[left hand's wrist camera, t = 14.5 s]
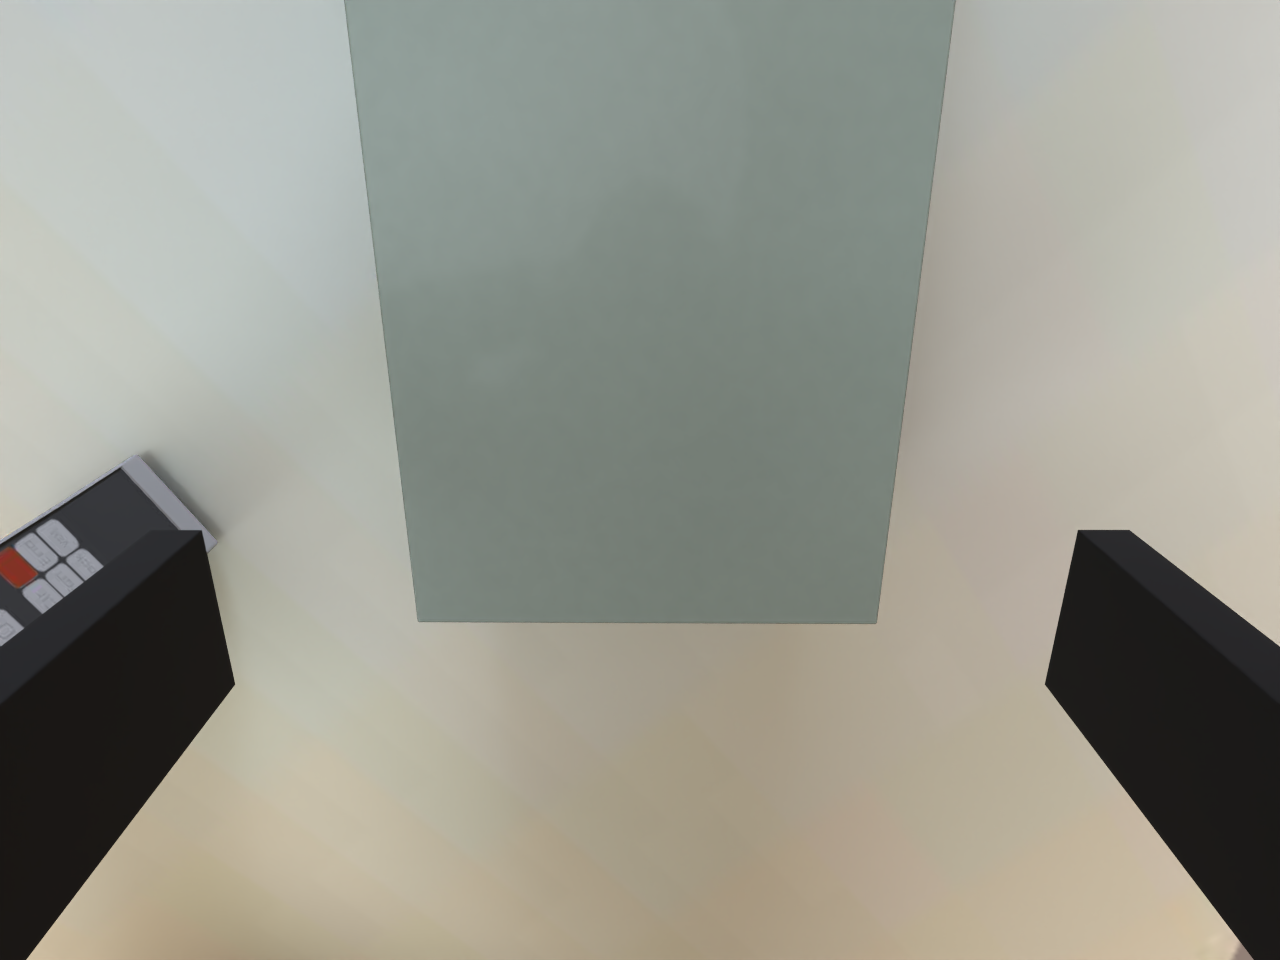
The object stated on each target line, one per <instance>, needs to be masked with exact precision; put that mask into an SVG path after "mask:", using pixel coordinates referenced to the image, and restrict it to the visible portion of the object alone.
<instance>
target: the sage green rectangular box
mask: <svg viewBox="0 0 1280 960" xmlns="http://www.w3.org/2000/svg"><path fill="white" fill-rule="evenodd" d="M955 2H956V0H344V3H345V11H346V19H347V28H348V36H349V45H350V53H351V62H352V70H353V78H354V87H355V95H356V104H357V112H358V121H359V129H360V138H361V146H362V154H363V163H364V171H365V180H366V188H367V197H368V205H369V214H370V222H371V230H372V239H373V247H374V256H375V264H376V273H377V281H378V289H379V298H380V306H381V315H382V323H383V332H384V340H385V349H386V357H387V365H388V374H389V382H390V391H391V399H392V408H393V416H394V425H395V433H396V441H397V450H398V458H399V467H400V475H401V484H402V492H403V500H404V509H405V517H406V526H407V534H408V543H409V551H410V560H411V568H412V576H413V585H414V593H415V602H416V610H417V619H418V622H540V623H777V624H876V623H877V617H878V609H879V601H880V593H881V585H882V577H883V569H884V562H885V554H886V546H887V538H888V530H889V522H890V514H891V506H892V498H893V491H894V483H895V475H896V467H897V459H898V451H899V443H900V435H901V427H902V420H903V412H904V404H905V396H906V388H907V380H908V372H909V364H910V356H911V349H912V341H913V333H914V325H915V317H916V309H917V301H918V293H919V285H920V278H921V270H922V262H923V254H924V246H925V238H926V230H927V222H928V214H929V207H930V199H931V191H932V183H933V175H934V167H935V159H936V151H937V144H938V136H939V128H940V120H941V112H942V104H943V96H944V88H945V80H946V73H947V65H948V57H949V49H950V41H951V33H952V25H953V17H954V9H955Z"/></svg>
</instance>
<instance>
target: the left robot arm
mask: <svg viewBox="0 0 1280 960" xmlns="http://www.w3.org/2000/svg"><path fill="white" fill-rule="evenodd" d="M234 685H235V682H234V677H233V672H232V668H231V663H230V659H229V654H228V649H227V645H226V640H225V635H224V631H223V626H222V621H221V617H220V612H219V607H218V603H217V598H216V593H215V589H214V584H213V579H212V575H211V570H210V565H209V561H208V556H207V551H206V547H205V542H204V537H203V533H202V530H150V531H149V532H148V533H146V534H145V535H144V536H143V537H141V538H140V539H139V540H137V541H136V542H135V543H133V544H132V545H131V546H130V547H128V548H127V549H126V550H124V551H123V552H122V553H121V554H119V555H118V556H117V557H115V558H114V559H113V560H112V561H110V562H109V563H108V564H106V565H105V566H104V567H103V568H101V569H100V570H99V571H97V572H96V573H95V574H93V575H92V576H91V577H90V578H88V579H87V580H86V581H84V582H83V583H82V584H81V585H79V586H78V587H77V588H75V589H74V590H73V591H72V592H70V593H69V594H68V595H66V596H65V597H64V598H63V599H61V600H60V601H59V602H57V603H56V604H55V605H53V606H52V607H51V608H50V609H48V610H47V611H46V612H44V613H43V614H42V615H41V616H39V617H38V618H37V619H35V620H34V621H33V622H32V623H30V624H29V625H28V626H26V627H25V628H24V629H23V630H21V631H20V632H19V633H17V634H16V635H15V636H13V637H12V638H11V639H10V640H8V641H7V642H6V643H4V644H3V645H2V646H1V647H0V960H26V959H27V958H28V957H29V955H30V954H31V953H32V951H33V950H34V949H35V947H36V946H37V945H38V943H39V942H40V941H41V939H42V938H43V937H44V935H45V934H46V933H47V932H48V930H49V929H50V928H51V926H52V925H53V924H54V922H55V921H56V920H57V918H58V917H59V916H60V914H61V913H62V912H63V910H64V909H65V908H66V906H67V905H68V904H69V903H70V901H71V900H72V899H73V897H74V896H75V895H76V893H77V892H78V891H79V889H80V888H81V887H82V885H83V884H84V883H85V881H86V880H87V879H88V878H89V876H90V875H91V874H92V872H93V871H94V870H95V868H96V867H97V866H98V864H99V863H100V862H101V860H102V859H103V858H104V856H105V855H106V854H107V852H108V851H109V850H110V849H111V847H112V846H113V845H114V843H115V842H116V841H117V839H118V838H119V837H120V835H121V834H122V833H123V831H124V830H125V829H126V827H127V826H128V825H129V823H130V822H131V821H132V820H133V818H134V817H135V816H136V814H137V813H138V812H139V810H140V809H141V808H142V806H143V805H144V804H145V802H146V801H147V800H148V798H149V797H150V796H151V795H152V793H153V792H154V791H155V789H156V788H157V787H158V785H159V784H160V783H161V781H162V780H163V779H164V777H165V776H166V775H167V773H168V772H169V771H170V769H171V768H172V767H173V766H174V764H175V763H176V762H177V760H178V759H179V758H180V756H181V755H182V754H183V752H184V751H185V750H186V748H187V747H188V746H189V744H190V743H191V742H192V740H193V739H194V738H195V737H196V735H197V734H198V733H199V731H200V730H201V729H202V727H203V726H204V725H205V723H206V722H207V721H208V719H209V718H210V717H211V715H212V714H213V713H214V712H215V710H216V709H217V708H218V706H219V705H220V704H221V702H222V701H223V700H224V698H225V697H226V696H227V694H228V693H229V692H230V690H231V689H232V688H233V686H234ZM1045 685H1046V686H1047V688H1048V689H1049V690H1050V692H1051V693H1052V694H1053V696H1054V697H1055V698H1056V700H1057V701H1058V702H1059V704H1060V705H1061V706H1062V708H1063V709H1064V710H1065V712H1066V713H1067V714H1068V715H1069V717H1070V718H1071V719H1072V721H1073V722H1074V723H1075V725H1076V726H1077V727H1078V729H1079V730H1080V731H1081V733H1082V734H1083V735H1084V737H1085V738H1086V739H1087V740H1088V742H1089V743H1090V744H1091V746H1092V747H1093V748H1094V750H1095V751H1096V752H1097V754H1098V755H1099V756H1100V758H1101V759H1102V760H1103V762H1104V763H1105V764H1106V766H1107V767H1108V768H1109V769H1110V771H1111V772H1112V773H1113V775H1114V776H1115V777H1116V779H1117V780H1118V781H1119V783H1120V784H1121V785H1122V787H1123V788H1124V789H1125V791H1126V792H1127V793H1128V795H1129V796H1130V797H1131V798H1132V800H1133V801H1134V802H1135V804H1136V805H1137V806H1138V808H1139V809H1140V810H1141V812H1142V813H1143V814H1144V816H1145V817H1146V818H1147V820H1148V821H1149V822H1150V823H1151V825H1152V826H1153V827H1154V829H1155V830H1156V831H1157V833H1158V834H1159V835H1160V837H1161V838H1162V839H1163V841H1164V842H1165V843H1166V845H1167V846H1168V847H1169V849H1170V850H1171V851H1172V852H1173V854H1174V855H1175V856H1176V858H1177V859H1178V860H1179V862H1180V863H1181V864H1182V866H1183V867H1184V868H1185V870H1186V871H1187V872H1188V874H1189V875H1190V876H1191V878H1192V879H1193V880H1194V881H1195V883H1196V884H1197V885H1198V887H1199V888H1200V889H1201V891H1202V892H1203V893H1204V895H1205V896H1206V897H1207V899H1208V900H1209V901H1210V903H1211V904H1212V905H1213V906H1214V908H1215V909H1216V910H1217V912H1218V913H1219V914H1220V916H1221V917H1222V918H1223V920H1224V921H1225V922H1226V924H1227V925H1228V926H1229V928H1230V929H1231V930H1232V932H1233V933H1234V934H1235V935H1236V937H1237V938H1238V939H1239V941H1240V942H1241V943H1242V945H1243V946H1244V947H1245V949H1246V950H1247V951H1248V953H1249V954H1250V955H1251V957H1252V958H1253V959H1254V960H1280V647H1279V646H1278V645H1277V644H1276V643H1274V642H1273V641H1272V640H1270V639H1269V638H1268V637H1267V636H1265V635H1264V634H1263V633H1261V632H1260V631H1259V630H1257V629H1256V628H1255V627H1254V626H1252V625H1251V624H1250V623H1248V622H1247V621H1246V620H1245V619H1243V618H1242V617H1241V616H1239V615H1238V614H1237V613H1236V612H1234V611H1233V610H1232V609H1230V608H1229V607H1228V606H1227V605H1225V604H1224V603H1223V602H1221V601H1220V600H1219V599H1217V598H1216V597H1215V596H1214V595H1212V594H1211V593H1210V592H1208V591H1207V590H1206V589H1205V588H1203V587H1202V586H1201V585H1199V584H1198V583H1197V582H1196V581H1194V580H1193V579H1192V578H1190V577H1189V576H1188V575H1187V574H1185V573H1184V572H1183V571H1181V570H1180V569H1179V568H1177V567H1176V566H1175V565H1174V564H1172V563H1171V562H1170V561H1168V560H1167V559H1166V558H1165V557H1163V556H1162V555H1161V554H1159V553H1158V552H1157V551H1156V550H1154V549H1153V548H1152V547H1150V546H1149V545H1148V544H1147V543H1145V542H1144V541H1143V540H1141V539H1140V538H1139V537H1137V536H1136V535H1135V534H1134V533H1132V532H1131V531H1130V530H1078V533H1077V537H1076V542H1075V547H1074V551H1073V556H1072V561H1071V565H1070V570H1069V575H1068V579H1067V584H1066V589H1065V593H1064V598H1063V603H1062V607H1061V612H1060V617H1059V621H1058V626H1057V631H1056V635H1055V640H1054V645H1053V649H1052V654H1051V659H1050V663H1049V668H1048V672H1047V677H1046V682H1045Z"/></svg>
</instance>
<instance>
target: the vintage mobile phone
mask: <svg viewBox="0 0 1280 960" xmlns="http://www.w3.org/2000/svg"><path fill="white" fill-rule="evenodd" d="M150 530H202V533H203V537H204V542H205V547H206V551H207V553H208V552H209V551H210V550H211V549H213V548H214V547H215V546H216V545H217V543H218V542H217V540H216V539H215V538H214V537H213V536H212V535H211V534H210V533H209V531H208V530H207V529H206V528H205V527H204V526H203V525H202V524H201V523H200V522H199V521H198V520H197V518H196V517H195V516H194V515H193V514H192V513H191V512H190V511H189V510H188V509H187V508H186V507H185V505H184V504H183V503H182V502H181V501H180V500H179V499H178V498H177V497H176V496H175V495H174V493H173V492H172V491H171V490H170V489H169V488H168V487H167V486H166V485H165V484H164V483H163V482H162V480H161V479H160V478H159V477H158V476H157V475H156V474H155V473H154V472H153V471H152V470H151V468H150V467H149V466H148V465H147V464H146V463H145V462H144V461H143V460H142V459H141V458H140V457H139V456H138V455H134V456H132V457H130V458H129V459H127V460H125V461H124V462H122V463H121V464H119V465H117V466H116V467H114V468H113V469H111V470H110V471H108V472H107V473H105V474H104V475H102V476H100V477H99V478H97V479H96V480H94V481H93V482H91V483H90V484H88V485H87V486H85V487H83V488H82V489H80V490H79V491H77V492H76V493H74V494H73V495H71V496H70V497H68V498H67V499H65V500H63V501H62V502H60V503H59V504H57V505H56V506H54V507H53V508H51V509H49V510H48V511H46V512H45V513H43V514H41V515H40V516H38V517H36V518H35V519H33V520H32V521H30V522H28V523H27V524H25V525H24V526H22V527H20V528H19V529H17V530H16V531H14V532H12V533H11V534H9V535H8V536H6V537H4V538H3V539H1V540H0V647H1V646H2V645H3V644H4V643H6V642H7V641H8V640H10V639H11V638H12V637H13V636H15V635H16V634H17V633H19V632H20V631H21V630H23V629H24V628H25V627H26V626H28V625H29V624H30V623H32V622H33V621H34V620H35V619H37V618H38V617H39V616H41V615H42V614H43V613H44V612H46V611H47V610H48V609H50V608H51V607H52V606H53V605H55V604H56V603H57V602H59V601H60V600H61V599H63V598H64V597H65V596H66V595H68V594H69V593H70V592H72V591H73V590H74V589H75V588H77V587H78V586H79V585H81V584H82V583H83V582H84V581H86V580H87V579H88V578H90V577H91V576H92V575H93V574H95V573H96V572H97V571H99V570H100V569H101V568H103V567H104V566H105V565H106V564H108V563H109V562H110V561H112V560H113V559H114V558H115V557H117V556H118V555H119V554H121V553H122V552H123V551H124V550H126V549H127V548H128V547H130V546H131V545H132V544H133V543H135V542H136V541H137V540H139V539H140V538H141V537H143V536H144V535H145V534H146V533H148V532H149V531H150Z"/></svg>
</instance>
